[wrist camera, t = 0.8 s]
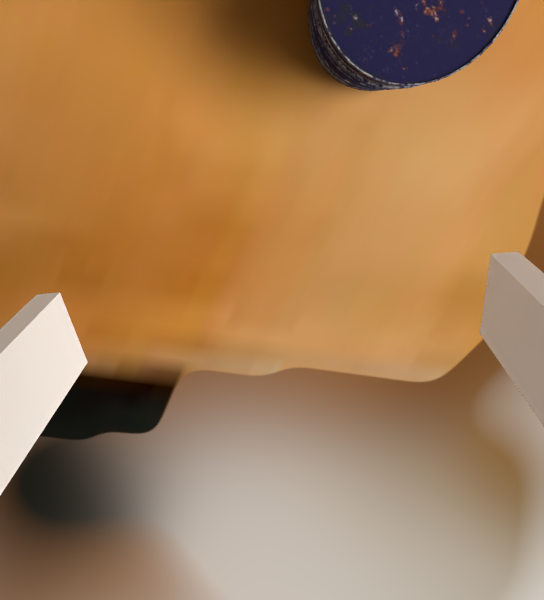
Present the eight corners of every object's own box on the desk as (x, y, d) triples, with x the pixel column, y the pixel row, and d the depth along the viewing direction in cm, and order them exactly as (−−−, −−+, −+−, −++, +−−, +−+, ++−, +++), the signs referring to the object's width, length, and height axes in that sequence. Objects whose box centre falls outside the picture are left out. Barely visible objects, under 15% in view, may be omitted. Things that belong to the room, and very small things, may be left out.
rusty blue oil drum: (361, 118, 37) (398, 131, 23) (281, 19, 34) (269, -32, 20) (465, 21, 33) (578, -31, 20) (384, -98, 31) (452, -251, 17)
